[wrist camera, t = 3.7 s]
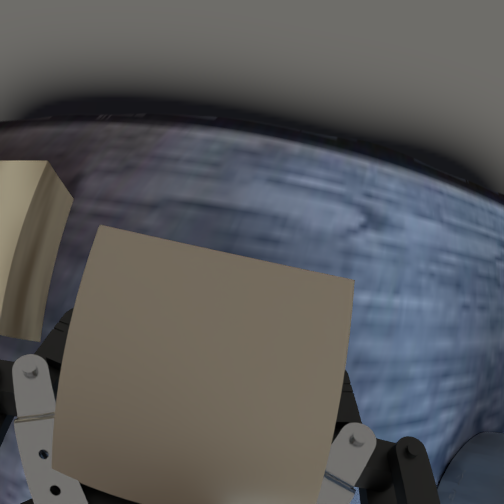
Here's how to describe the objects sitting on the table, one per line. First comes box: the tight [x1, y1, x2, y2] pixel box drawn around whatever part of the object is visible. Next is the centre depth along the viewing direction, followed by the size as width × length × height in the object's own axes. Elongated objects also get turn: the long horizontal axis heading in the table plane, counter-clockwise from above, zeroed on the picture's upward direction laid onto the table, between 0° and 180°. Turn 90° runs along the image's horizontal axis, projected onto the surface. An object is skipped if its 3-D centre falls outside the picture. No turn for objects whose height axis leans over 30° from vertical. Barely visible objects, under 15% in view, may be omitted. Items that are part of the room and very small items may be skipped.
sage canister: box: [52, 225, 355, 504], centre depth 11 cm, size 5×5×12 cm
